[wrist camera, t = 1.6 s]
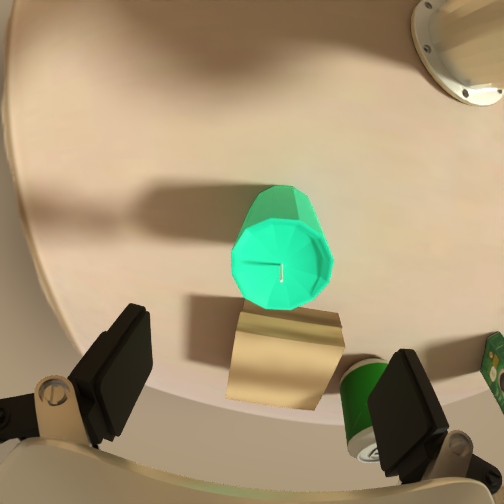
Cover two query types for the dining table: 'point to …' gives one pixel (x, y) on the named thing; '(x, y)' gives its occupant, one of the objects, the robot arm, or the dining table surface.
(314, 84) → the dining table surface
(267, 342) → the oak block
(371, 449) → the soda can
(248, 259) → the candle
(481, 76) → the robot arm
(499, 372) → the coffee box
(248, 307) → the tan flat block
